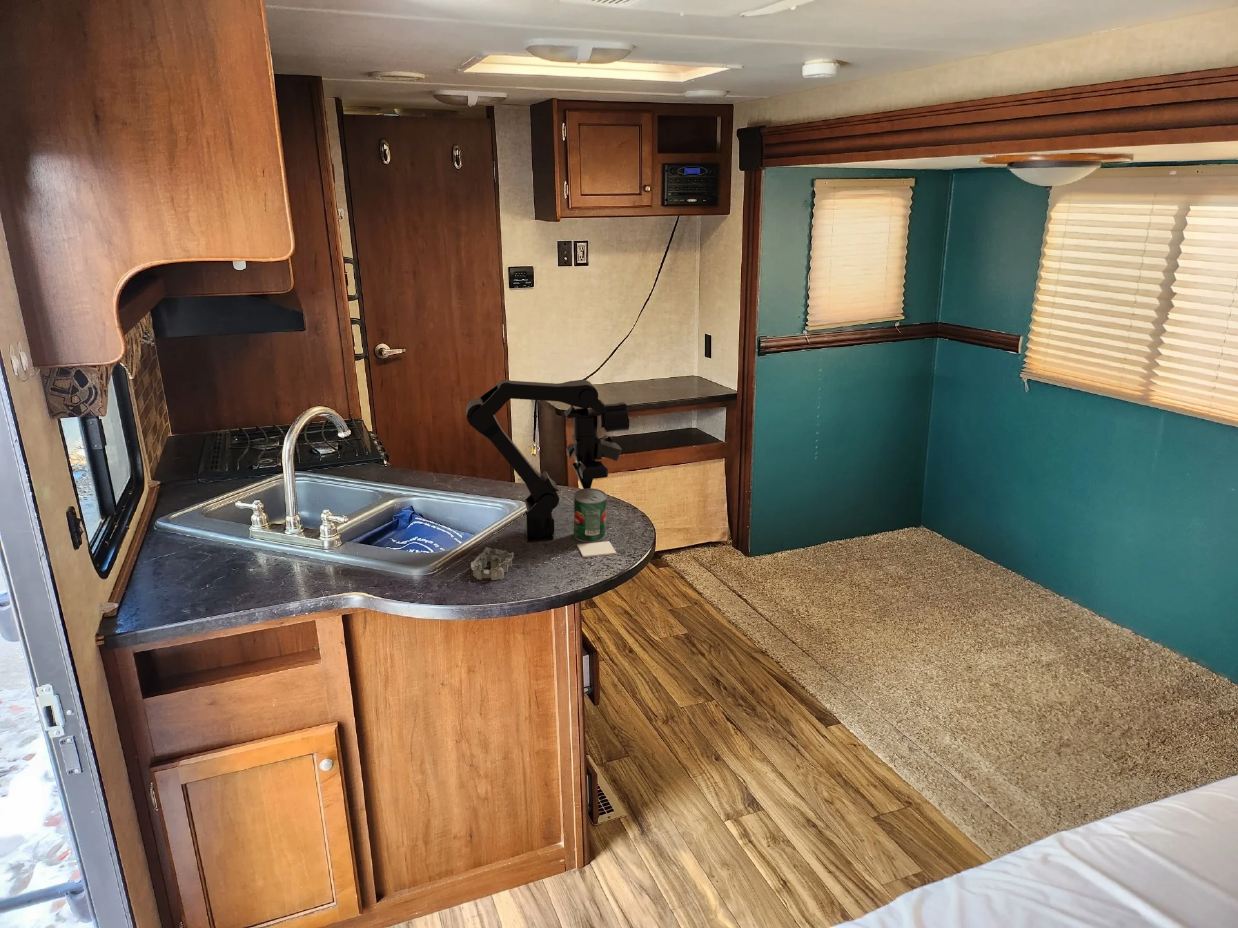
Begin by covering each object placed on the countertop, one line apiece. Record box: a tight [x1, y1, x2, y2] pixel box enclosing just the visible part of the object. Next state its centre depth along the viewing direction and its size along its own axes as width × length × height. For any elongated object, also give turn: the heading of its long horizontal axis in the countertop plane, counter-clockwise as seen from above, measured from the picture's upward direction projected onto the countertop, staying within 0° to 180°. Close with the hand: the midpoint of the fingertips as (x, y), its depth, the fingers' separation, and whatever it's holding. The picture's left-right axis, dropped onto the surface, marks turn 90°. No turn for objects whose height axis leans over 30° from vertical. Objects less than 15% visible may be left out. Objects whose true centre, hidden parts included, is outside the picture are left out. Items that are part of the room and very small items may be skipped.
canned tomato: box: [572, 487, 607, 543], centre depth 204 cm, size 8×8×11 cm
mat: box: [576, 540, 617, 558], centre depth 198 cm, size 8×7×1 cm
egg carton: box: [470, 546, 515, 581], centre depth 186 cm, size 11×8×4 cm
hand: (587, 492), depth 206 cm, fingers closed
